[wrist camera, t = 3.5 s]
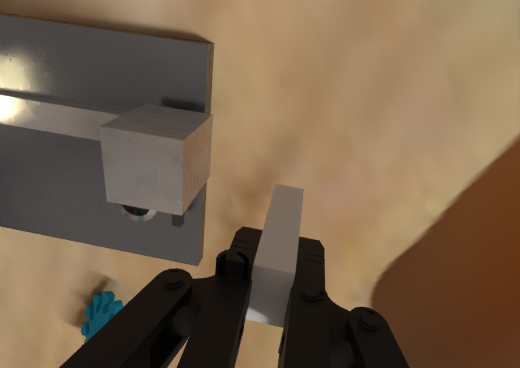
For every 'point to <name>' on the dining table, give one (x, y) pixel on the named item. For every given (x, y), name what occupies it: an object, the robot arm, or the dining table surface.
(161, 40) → the plate
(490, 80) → the dining table surface
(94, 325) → the gear
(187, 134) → the block
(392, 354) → the robot arm
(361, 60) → the dining table surface
